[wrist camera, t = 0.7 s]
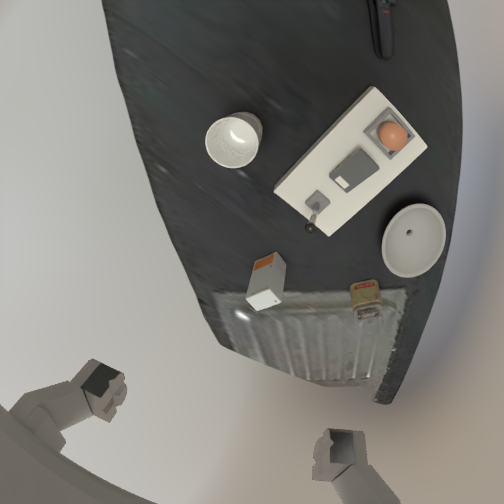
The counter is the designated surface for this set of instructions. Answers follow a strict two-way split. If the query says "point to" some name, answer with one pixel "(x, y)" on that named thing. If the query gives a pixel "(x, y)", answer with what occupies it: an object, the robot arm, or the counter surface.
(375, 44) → the can opener
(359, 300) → the lighter
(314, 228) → the toggle lever
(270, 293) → the skincare box
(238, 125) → the white cup
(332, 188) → the switch panel
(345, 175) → the block
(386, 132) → the push button
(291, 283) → the counter surface
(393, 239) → the dish
